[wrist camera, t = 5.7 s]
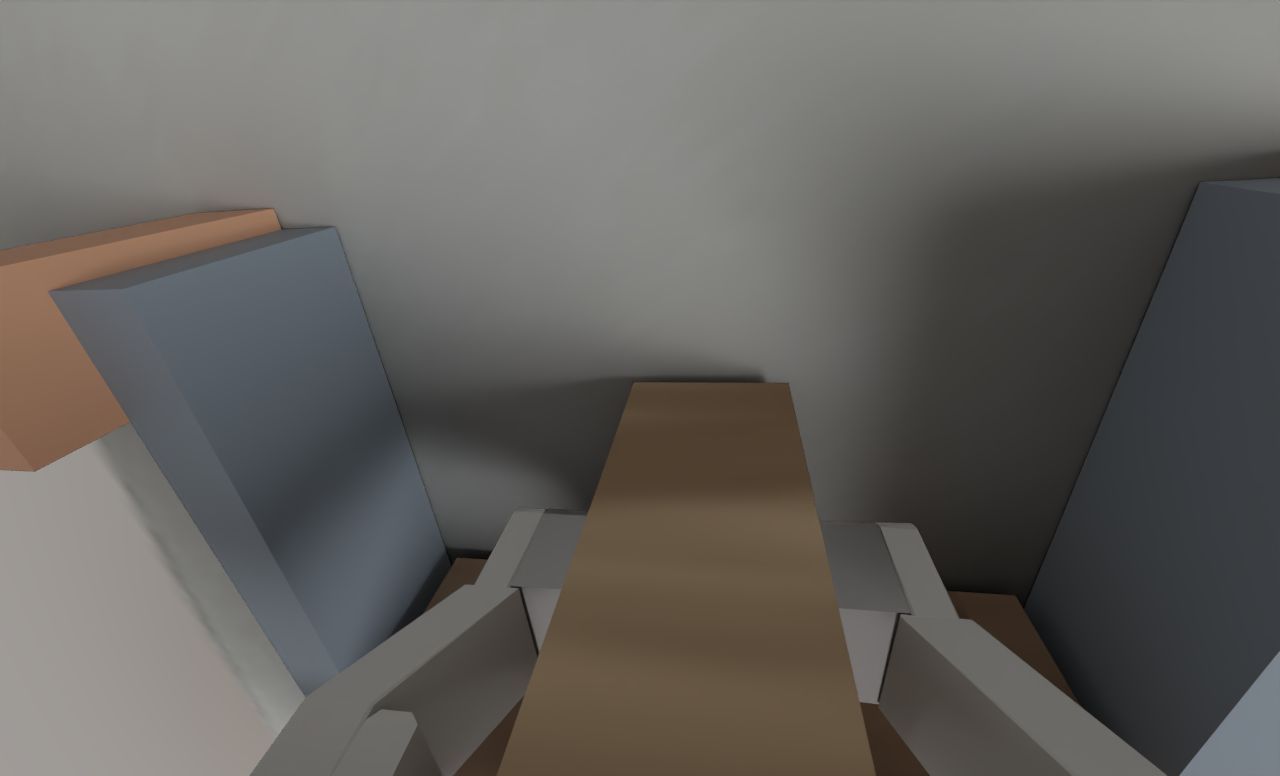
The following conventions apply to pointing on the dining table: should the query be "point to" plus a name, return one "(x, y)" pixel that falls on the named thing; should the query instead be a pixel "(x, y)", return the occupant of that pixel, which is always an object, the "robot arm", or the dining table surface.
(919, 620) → the robot arm
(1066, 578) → the frame
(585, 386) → the dining table surface
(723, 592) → the wooden square frame
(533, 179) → the dining table surface
